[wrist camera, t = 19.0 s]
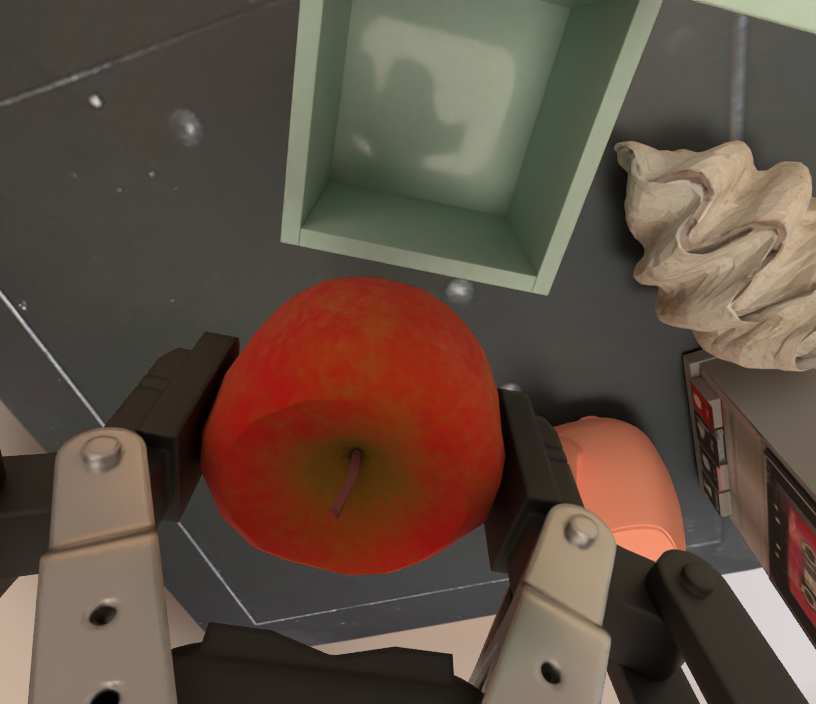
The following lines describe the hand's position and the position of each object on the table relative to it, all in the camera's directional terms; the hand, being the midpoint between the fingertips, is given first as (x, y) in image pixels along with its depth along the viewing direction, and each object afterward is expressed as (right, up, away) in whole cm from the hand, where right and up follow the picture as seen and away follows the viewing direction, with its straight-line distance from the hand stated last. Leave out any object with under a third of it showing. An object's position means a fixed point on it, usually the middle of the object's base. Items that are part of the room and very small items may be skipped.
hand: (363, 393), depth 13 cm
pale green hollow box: (+3, +15, +15) cm, 21 cm away
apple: (0, +2, +3) cm, 4 cm away
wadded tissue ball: (+19, +9, +19) cm, 28 cm away
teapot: (+14, -8, +29) cm, 33 cm away
